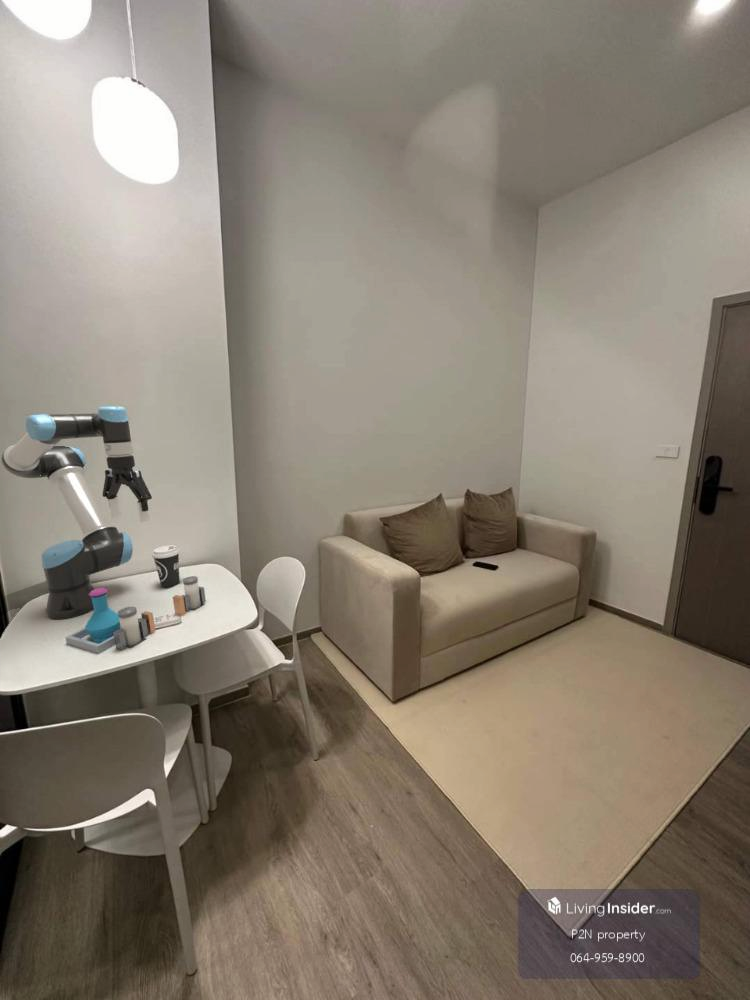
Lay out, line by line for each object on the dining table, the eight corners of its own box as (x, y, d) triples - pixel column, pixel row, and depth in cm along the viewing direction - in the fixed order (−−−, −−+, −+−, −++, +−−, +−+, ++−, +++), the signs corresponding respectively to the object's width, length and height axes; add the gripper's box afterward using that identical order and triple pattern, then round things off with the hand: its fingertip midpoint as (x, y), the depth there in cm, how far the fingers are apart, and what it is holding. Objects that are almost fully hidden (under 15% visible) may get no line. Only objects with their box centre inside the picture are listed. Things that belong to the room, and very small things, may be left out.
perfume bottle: (131, 631, 122) (123, 586, 119) (100, 648, 114) (90, 600, 111) (112, 625, 126) (104, 581, 123) (81, 640, 118) (71, 594, 115)
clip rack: (112, 650, 114) (108, 628, 112) (197, 601, 142) (194, 583, 141) (126, 654, 112) (122, 631, 110) (209, 603, 140) (207, 585, 139)
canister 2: (183, 607, 136) (179, 580, 134) (194, 601, 140) (190, 575, 138) (193, 610, 134) (190, 582, 132) (204, 603, 139) (200, 577, 136)
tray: (67, 646, 116) (65, 637, 116) (113, 622, 129) (111, 614, 128) (99, 656, 111) (97, 646, 111) (144, 630, 124) (142, 621, 123)
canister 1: (119, 644, 115) (113, 612, 113) (134, 636, 120) (128, 605, 117) (130, 647, 114) (125, 615, 111) (145, 638, 118) (140, 608, 116)
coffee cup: (176, 589, 152) (171, 552, 149) (151, 590, 152) (145, 553, 149) (188, 579, 161) (183, 544, 158) (165, 579, 161) (159, 544, 158)
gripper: (82, 456, 129) (94, 518, 134) (136, 457, 120) (146, 525, 125) (105, 453, 136) (115, 513, 141) (157, 455, 127) (167, 519, 131)
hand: (130, 519), depth 133 cm, fingers open, 13 cm apart
